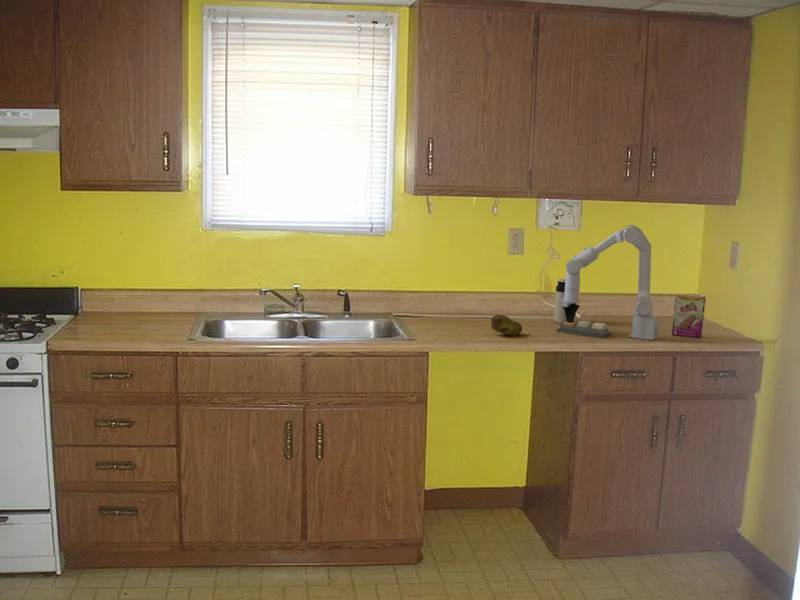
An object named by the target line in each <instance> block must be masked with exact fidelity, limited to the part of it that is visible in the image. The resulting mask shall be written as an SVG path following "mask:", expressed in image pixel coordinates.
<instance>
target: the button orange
mask: <svg viewBox="0 0 800 600" xmlns="http://www.w3.org/2000/svg"><path fill="white" fill-rule="evenodd" d="M576 323H577V324H578V321H573V323H568V322H567V321H566V322H563V324H566V325H573V326H574V325H576Z"/></svg>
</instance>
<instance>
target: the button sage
mask: <svg viewBox="0 0 800 600" xmlns="http://www.w3.org/2000/svg"><path fill="white" fill-rule="evenodd" d="M577 324H578V326H580V327H590V326H591V325H592V321H589V320H588V321H587V320H579V321H577Z"/></svg>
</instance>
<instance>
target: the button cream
mask: <svg viewBox="0 0 800 600" xmlns="http://www.w3.org/2000/svg"><path fill="white" fill-rule="evenodd" d="M606 326H607V323H602V322H594V323H592V328H595V329H605V328H606Z"/></svg>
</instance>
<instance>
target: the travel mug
mask: <svg viewBox="0 0 800 600" xmlns="http://www.w3.org/2000/svg"><path fill="white" fill-rule="evenodd" d="M565 279H566V278H559V279H556V281H557V285H556V287H555V298H554V300H555V301H554V317H553V321H554V322H555V323H557V322H559V323H558V324H562V323H563V322H566V321H567V320H566V314H565V311H564V308H563V307H562V302H563V301H561V299H564V295H565Z"/></svg>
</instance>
